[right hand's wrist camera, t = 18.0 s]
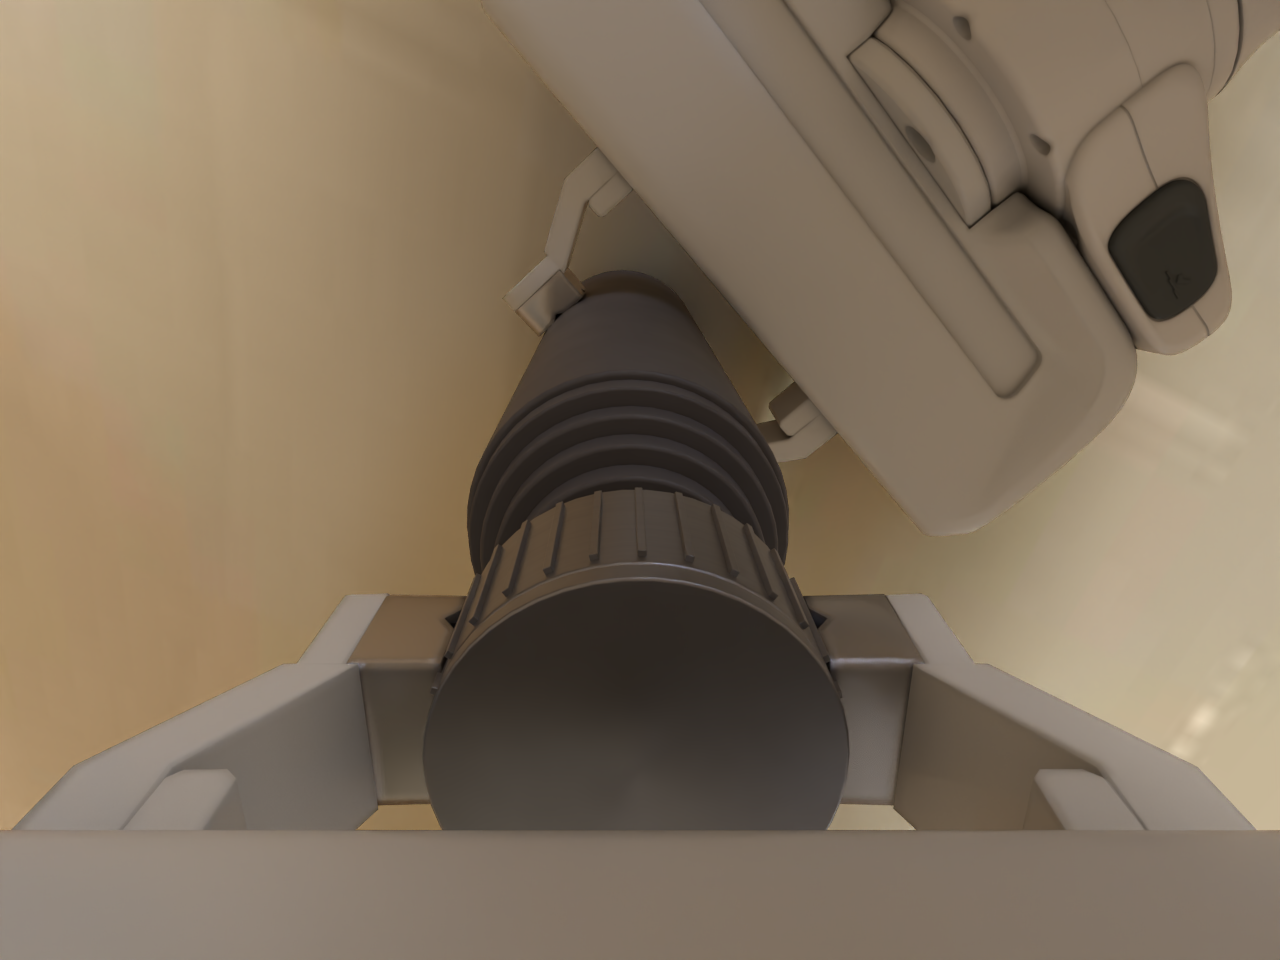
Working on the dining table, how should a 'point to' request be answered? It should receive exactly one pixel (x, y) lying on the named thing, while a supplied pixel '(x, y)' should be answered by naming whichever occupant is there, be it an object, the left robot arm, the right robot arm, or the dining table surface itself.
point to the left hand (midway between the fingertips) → (601, 400)
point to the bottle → (624, 420)
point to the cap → (635, 680)
